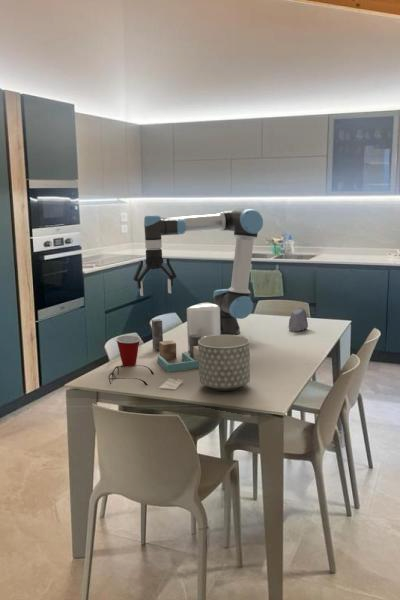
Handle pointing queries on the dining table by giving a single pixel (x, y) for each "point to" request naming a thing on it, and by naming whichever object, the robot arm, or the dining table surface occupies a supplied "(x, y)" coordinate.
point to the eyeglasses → (125, 378)
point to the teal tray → (188, 363)
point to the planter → (224, 361)
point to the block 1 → (165, 347)
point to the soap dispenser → (203, 320)
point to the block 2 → (194, 346)
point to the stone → (298, 320)
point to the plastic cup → (128, 349)
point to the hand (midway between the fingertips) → (155, 294)
